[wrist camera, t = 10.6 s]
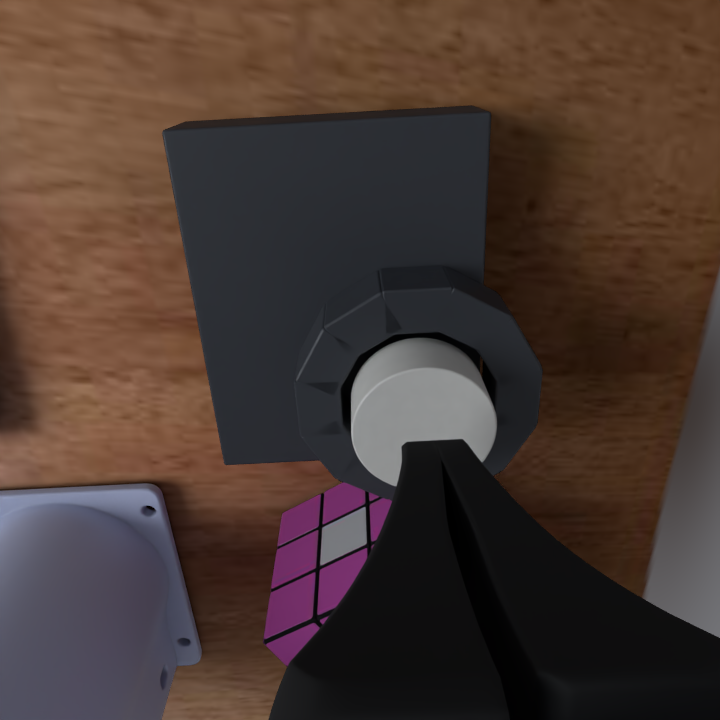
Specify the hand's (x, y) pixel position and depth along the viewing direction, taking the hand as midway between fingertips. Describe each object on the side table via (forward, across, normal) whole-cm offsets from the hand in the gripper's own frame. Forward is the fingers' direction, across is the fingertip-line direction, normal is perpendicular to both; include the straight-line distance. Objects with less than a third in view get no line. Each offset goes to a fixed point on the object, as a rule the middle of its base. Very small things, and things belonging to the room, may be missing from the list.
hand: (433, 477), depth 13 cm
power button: (+4, 0, 0) cm, 4 cm away
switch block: (+7, +2, -2) cm, 8 cm away
